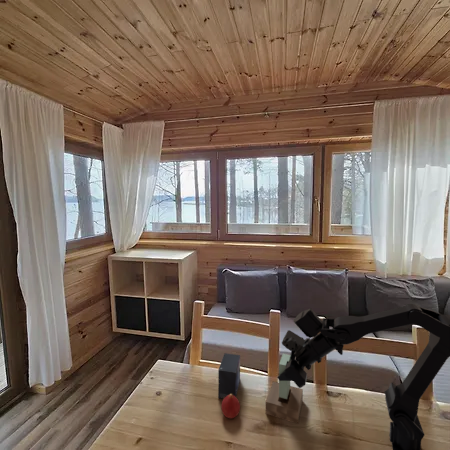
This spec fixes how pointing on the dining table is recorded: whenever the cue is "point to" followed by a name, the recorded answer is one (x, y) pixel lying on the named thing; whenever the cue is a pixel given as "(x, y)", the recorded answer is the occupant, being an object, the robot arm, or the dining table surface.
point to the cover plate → (284, 385)
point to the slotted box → (284, 403)
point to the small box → (229, 375)
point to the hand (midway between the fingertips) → (280, 372)
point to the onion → (230, 406)
